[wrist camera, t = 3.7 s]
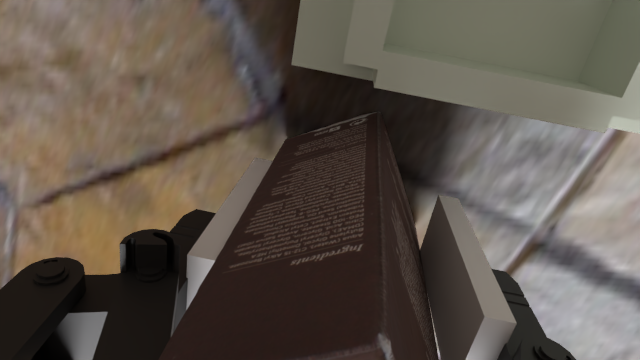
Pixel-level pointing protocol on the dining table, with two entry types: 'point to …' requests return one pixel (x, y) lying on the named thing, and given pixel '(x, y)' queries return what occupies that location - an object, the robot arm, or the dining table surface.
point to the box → (317, 261)
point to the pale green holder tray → (487, 54)
